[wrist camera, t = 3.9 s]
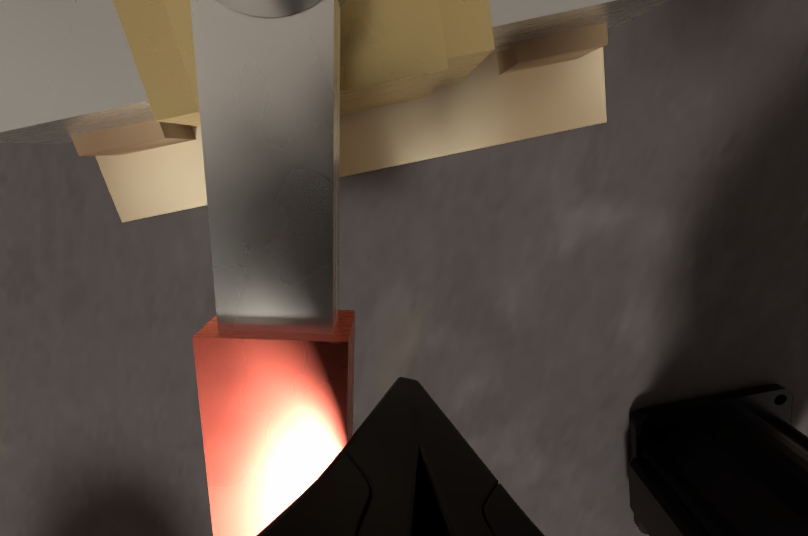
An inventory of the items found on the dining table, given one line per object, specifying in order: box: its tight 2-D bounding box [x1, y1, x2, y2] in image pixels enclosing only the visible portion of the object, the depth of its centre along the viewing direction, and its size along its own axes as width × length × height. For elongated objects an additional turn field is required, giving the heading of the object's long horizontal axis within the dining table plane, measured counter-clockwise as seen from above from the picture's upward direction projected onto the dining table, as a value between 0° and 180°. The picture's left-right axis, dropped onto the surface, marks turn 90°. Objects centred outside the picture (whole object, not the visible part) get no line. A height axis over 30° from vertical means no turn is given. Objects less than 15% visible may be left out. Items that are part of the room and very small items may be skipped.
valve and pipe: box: [0, 0, 667, 144], centre depth 9 cm, size 16×4×5 cm, turn 101°
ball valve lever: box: [190, 0, 355, 536], centre depth 7 cm, size 12×3×1 cm, turn 177°
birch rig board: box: [71, 23, 608, 222], centre depth 11 cm, size 16×8×3 cm, turn 101°
